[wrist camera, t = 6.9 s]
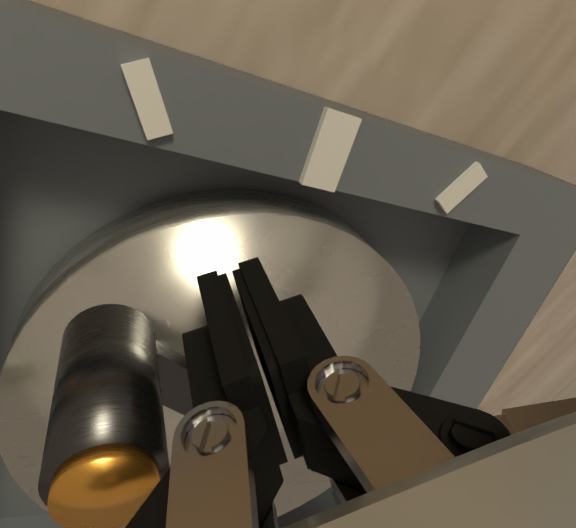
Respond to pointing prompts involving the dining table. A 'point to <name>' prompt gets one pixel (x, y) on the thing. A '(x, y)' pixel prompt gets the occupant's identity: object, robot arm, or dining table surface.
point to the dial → (175, 342)
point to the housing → (263, 177)
